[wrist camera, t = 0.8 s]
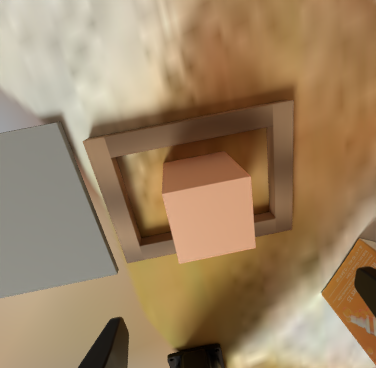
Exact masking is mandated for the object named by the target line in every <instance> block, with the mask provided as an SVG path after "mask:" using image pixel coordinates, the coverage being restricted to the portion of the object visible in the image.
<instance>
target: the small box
mask: <svg viewBox="0 0 376 368" xmlns="http://www.w3.org/2000/svg"><path fill="white" fill-rule="evenodd" d="M364 266H370V267H373V268H375V269H376V242H374V241H369V240H365V239H361V238H359V239H358V241H357V242H356V244H355V246H354V247H353V249H352V250H351V252H350V253H349V255H348V256H347V258H346V259H345V261H344V262H343V264H342V265H341V266H340V268H339V269H338V271H337V272H336V274H335V275H334V277H333V278H332V279H331V281H330V282H329V284H328V285H327V287H326V288H325V289H324V290H323V291H322V295H323V297H324V298H325V300H326V301H327V302H328V303H329V305H330V306H331V307H332V309H333V310H334V311H335V313H336V314H337V315H338V317H339V318H340V319H341V320H342V322H343V323H344V324H345V326H346V327H347V328H348V330H349V331H350V332H351V334H352V335H353V336H354V338H355V339H356V340H357V341H358V343H359V344H360V345H361V347H362V348H363V349H364V351H365V352H366V353H367V355H368V356H369V357H370V358H371V360H372V361H373V362H374V364H375V365H376V318H375V316H374V315H373V313H372V312H371V311H370V309H369V308H368V306H367V305H366V303H365V302H364V301H363V299H362V298H361V296H360V295H359V293H358V292H357V290H356V289H355V286H354V280H355V274H356V270H357V268H359V267H364Z"/></svg>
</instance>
